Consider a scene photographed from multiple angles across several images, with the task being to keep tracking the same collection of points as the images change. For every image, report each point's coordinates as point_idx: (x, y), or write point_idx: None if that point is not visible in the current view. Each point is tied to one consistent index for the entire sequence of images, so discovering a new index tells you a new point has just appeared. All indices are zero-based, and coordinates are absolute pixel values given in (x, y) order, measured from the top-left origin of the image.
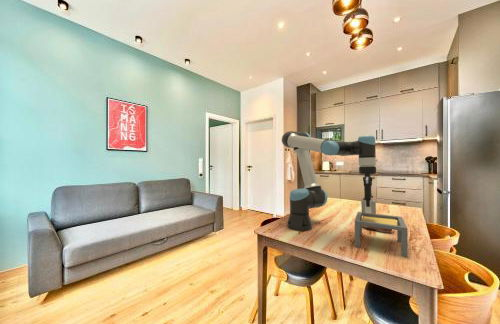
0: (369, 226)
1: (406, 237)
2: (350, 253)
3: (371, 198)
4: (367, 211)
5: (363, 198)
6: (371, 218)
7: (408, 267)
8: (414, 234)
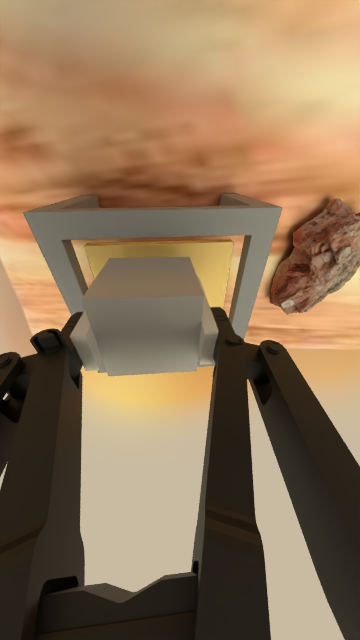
0: (295, 240)
1: None
2: (5, 186)
3: (199, 361)
4: None
5: (31, 342)
6: (201, 279)
7: (63, 317)
8: (279, 334)
